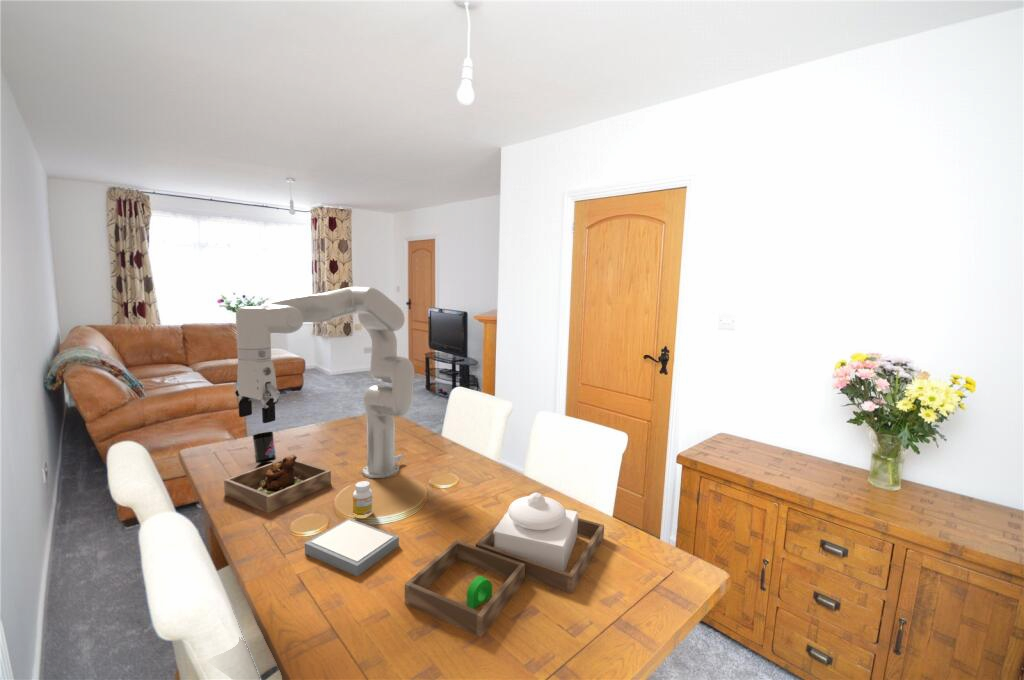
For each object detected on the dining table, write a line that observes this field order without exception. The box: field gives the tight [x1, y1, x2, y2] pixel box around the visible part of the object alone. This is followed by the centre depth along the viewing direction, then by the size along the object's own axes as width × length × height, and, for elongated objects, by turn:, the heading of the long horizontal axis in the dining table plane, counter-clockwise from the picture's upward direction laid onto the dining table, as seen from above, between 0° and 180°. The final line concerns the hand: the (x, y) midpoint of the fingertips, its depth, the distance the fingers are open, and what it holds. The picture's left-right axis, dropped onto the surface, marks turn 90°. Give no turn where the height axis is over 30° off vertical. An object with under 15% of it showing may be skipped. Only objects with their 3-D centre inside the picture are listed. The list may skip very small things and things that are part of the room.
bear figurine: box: [257, 455, 303, 495], centre depth 145 cm, size 14×15×12 cm
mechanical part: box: [466, 575, 493, 610], centre depth 97 cm, size 12×6×8 cm, turn 137°
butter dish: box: [493, 492, 579, 572], centre depth 115 cm, size 18×18×16 cm
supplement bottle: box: [352, 480, 373, 515], centre depth 130 cm, size 5×5×10 cm
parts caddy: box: [404, 539, 526, 638], centre depth 99 cm, size 19×19×5 cm
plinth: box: [304, 517, 400, 577], centre depth 113 cm, size 14×18×3 cm
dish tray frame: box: [475, 517, 605, 595], centre depth 115 cm, size 25×25×5 cm
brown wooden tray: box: [223, 458, 332, 514], centre depth 145 cm, size 22×22×5 cm
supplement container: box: [252, 431, 277, 465], centre depth 165 cm, size 7×7×10 cm
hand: (257, 418), depth 117 cm, fingers open, 9 cm apart
